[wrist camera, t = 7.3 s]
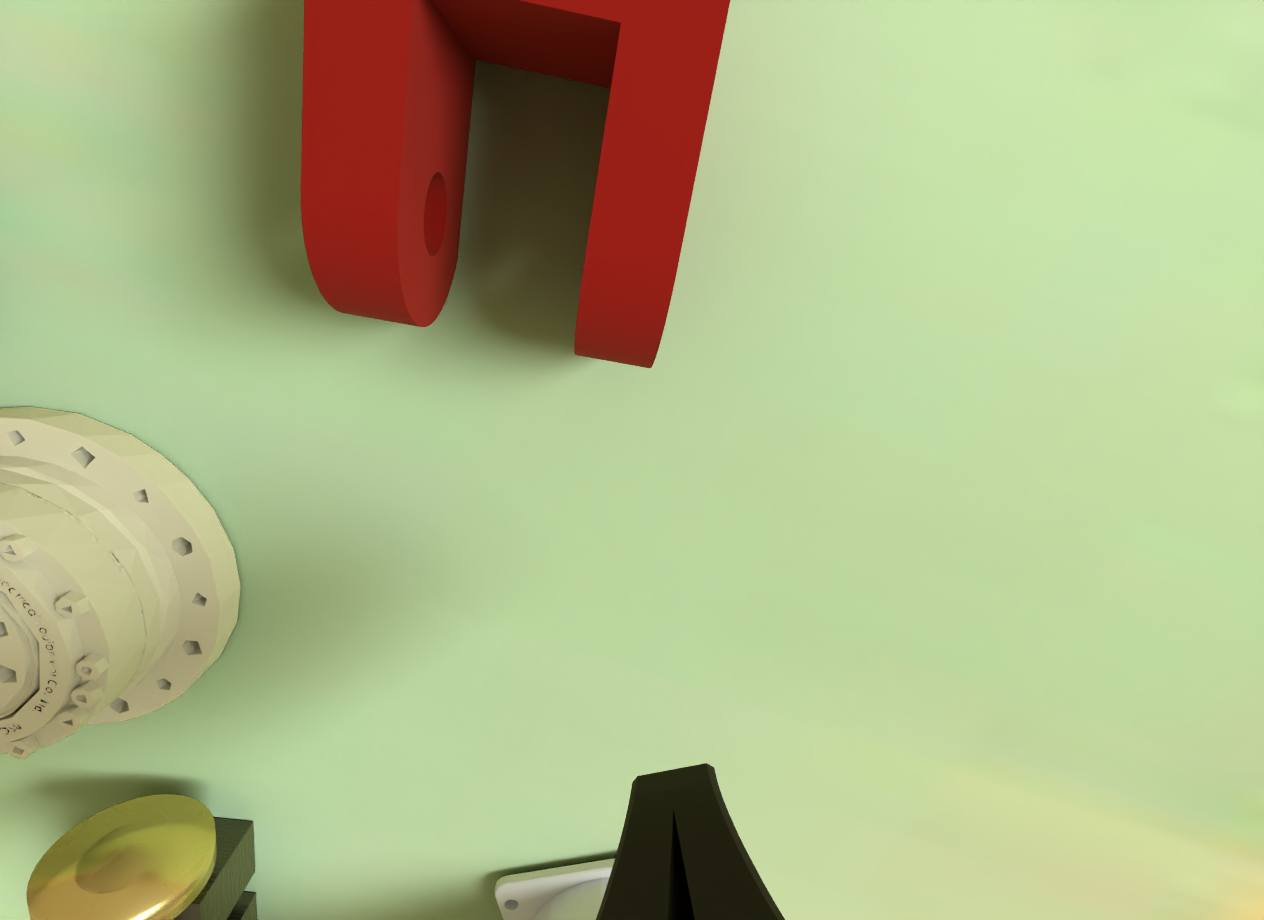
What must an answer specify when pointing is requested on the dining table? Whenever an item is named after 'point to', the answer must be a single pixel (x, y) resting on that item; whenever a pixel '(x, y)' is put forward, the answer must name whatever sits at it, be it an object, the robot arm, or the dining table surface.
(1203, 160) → the dining table surface
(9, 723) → the mechanical component
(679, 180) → the mechanical linkage
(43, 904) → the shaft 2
